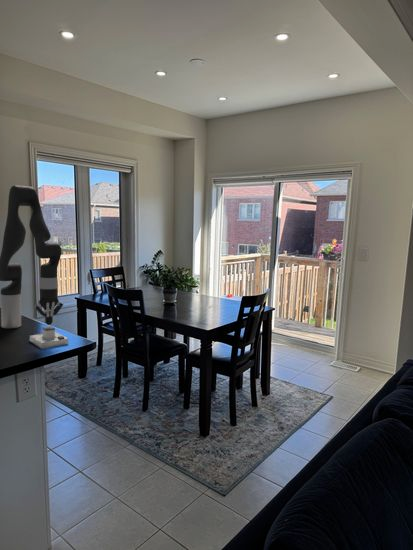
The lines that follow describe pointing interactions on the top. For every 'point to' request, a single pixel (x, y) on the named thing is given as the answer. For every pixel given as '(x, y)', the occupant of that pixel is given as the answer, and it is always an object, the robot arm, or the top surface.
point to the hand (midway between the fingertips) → (48, 324)
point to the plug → (48, 332)
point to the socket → (48, 340)
